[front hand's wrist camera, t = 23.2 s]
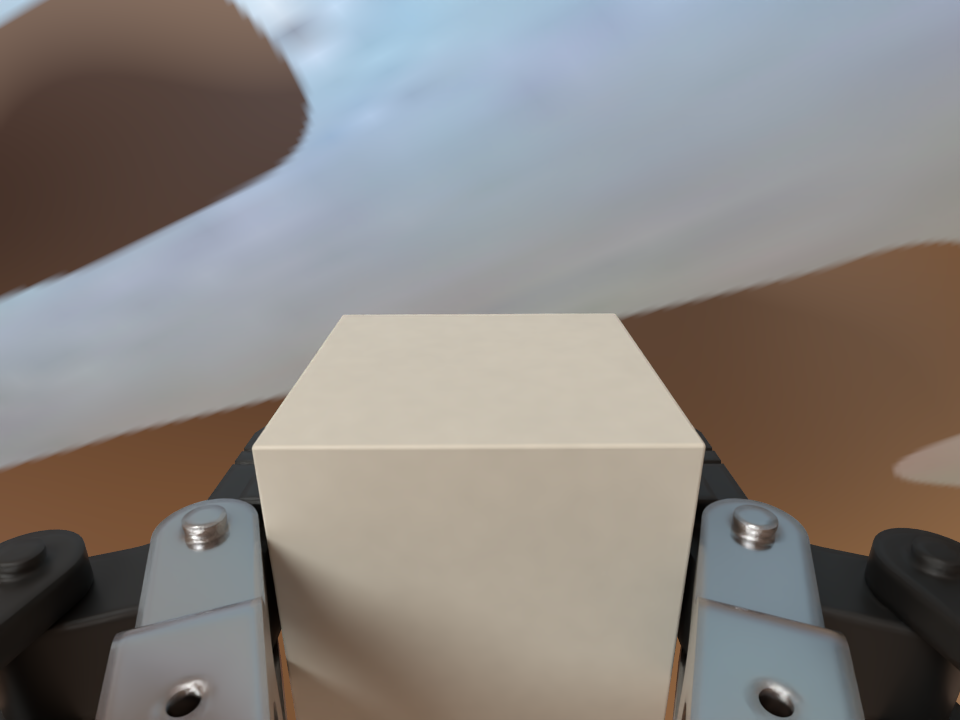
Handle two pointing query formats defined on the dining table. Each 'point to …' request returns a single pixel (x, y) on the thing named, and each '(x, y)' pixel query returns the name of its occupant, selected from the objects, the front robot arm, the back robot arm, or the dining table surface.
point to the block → (479, 520)
